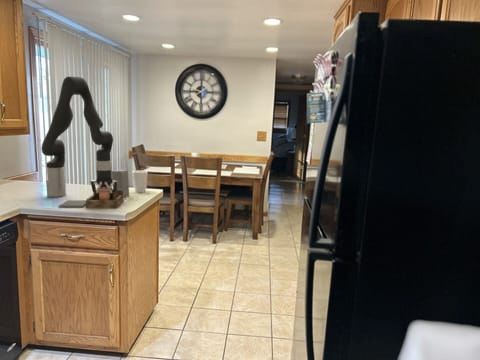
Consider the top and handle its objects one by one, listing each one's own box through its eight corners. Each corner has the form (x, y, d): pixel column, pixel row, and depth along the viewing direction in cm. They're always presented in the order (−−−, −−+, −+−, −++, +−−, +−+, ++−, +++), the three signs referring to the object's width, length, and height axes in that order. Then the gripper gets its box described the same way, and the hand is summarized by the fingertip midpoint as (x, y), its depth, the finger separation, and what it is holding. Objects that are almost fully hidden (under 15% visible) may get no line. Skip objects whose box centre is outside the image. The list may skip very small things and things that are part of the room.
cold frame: (85, 208, 180) (85, 195, 179) (94, 201, 194) (93, 189, 192) (117, 208, 181) (116, 195, 180) (123, 201, 195) (123, 189, 194)
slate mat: (58, 207, 179) (58, 205, 179) (67, 202, 191) (67, 200, 191) (82, 207, 181) (82, 205, 180) (90, 202, 192) (90, 200, 192)
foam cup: (134, 189, 228) (134, 170, 226) (148, 189, 229) (148, 170, 227) (131, 192, 219) (130, 172, 217) (146, 192, 220) (145, 172, 217)
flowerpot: (97, 204, 184) (96, 189, 182) (100, 201, 190) (100, 186, 189) (109, 204, 185) (109, 189, 183) (113, 201, 191) (112, 186, 189)
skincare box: (122, 197, 205) (121, 171, 202) (111, 196, 206) (110, 170, 203) (129, 194, 213) (129, 169, 210) (119, 194, 214) (118, 168, 211)
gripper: (87, 169, 180) (89, 201, 183) (115, 170, 181) (116, 201, 184) (92, 167, 187) (93, 197, 190) (119, 168, 188) (120, 197, 191)
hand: (105, 199), depth 187 cm, fingers closed on flowerpot, 5 cm apart
